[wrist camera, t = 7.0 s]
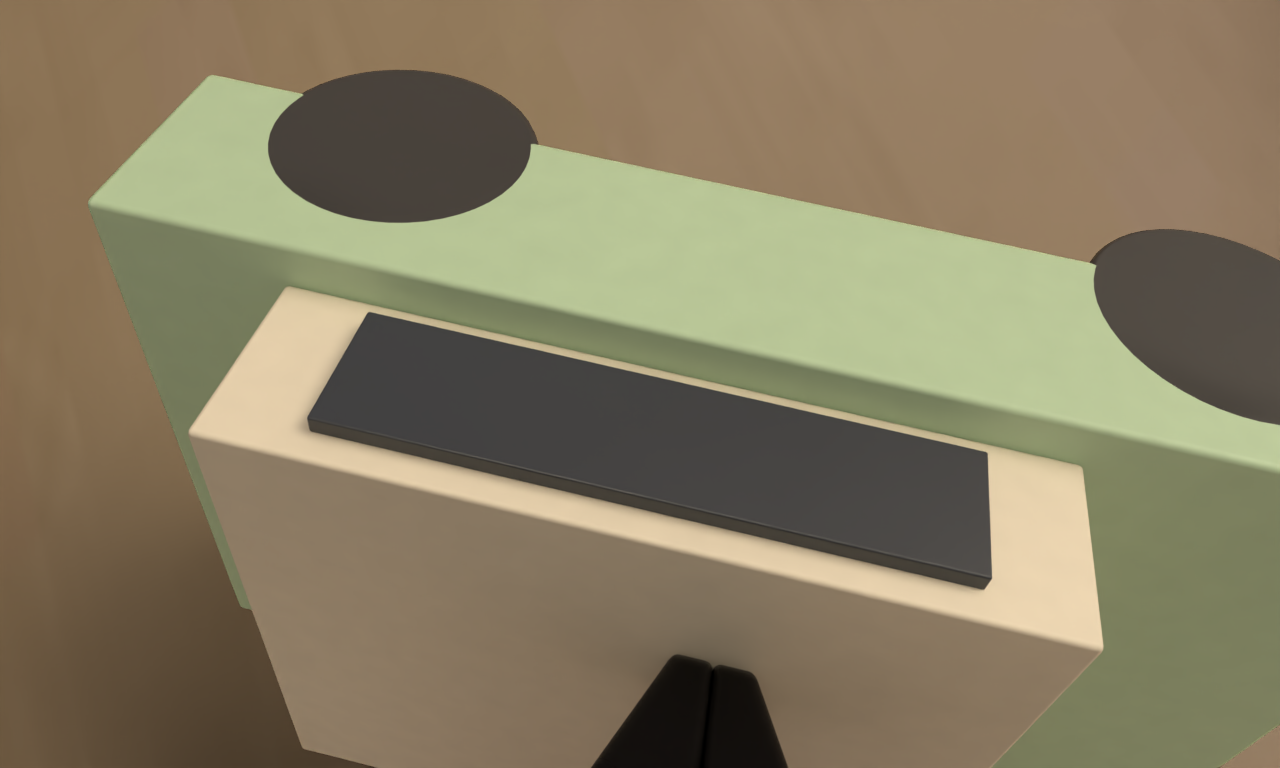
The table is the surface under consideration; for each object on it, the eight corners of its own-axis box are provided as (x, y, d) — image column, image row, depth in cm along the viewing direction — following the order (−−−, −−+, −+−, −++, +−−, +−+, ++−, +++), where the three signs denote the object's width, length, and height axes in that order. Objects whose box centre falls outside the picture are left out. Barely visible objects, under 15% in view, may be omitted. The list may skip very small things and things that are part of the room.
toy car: (173, 728, 14) (-54, 341, 8) (330, 440, 18) (248, 29, 12) (1153, 980, 14) (1664, 746, 8) (1109, 624, 17) (1430, 279, 11)
